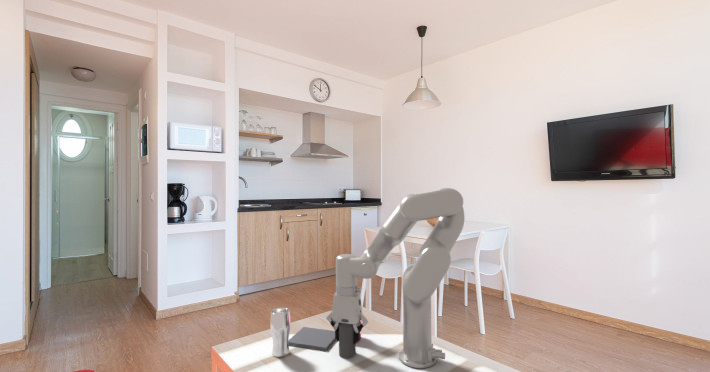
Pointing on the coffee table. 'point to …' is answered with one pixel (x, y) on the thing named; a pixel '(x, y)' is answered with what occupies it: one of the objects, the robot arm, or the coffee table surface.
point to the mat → (313, 338)
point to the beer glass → (280, 331)
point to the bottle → (346, 340)
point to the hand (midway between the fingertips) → (347, 340)
